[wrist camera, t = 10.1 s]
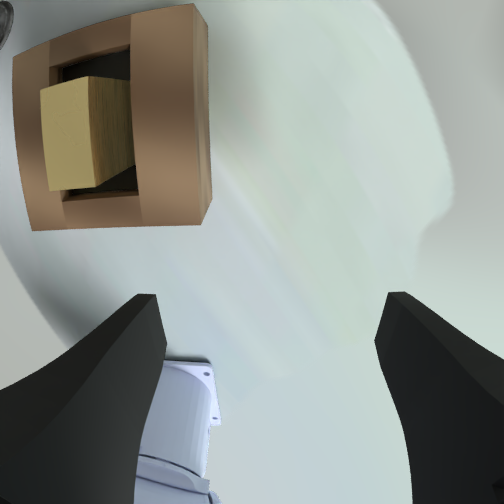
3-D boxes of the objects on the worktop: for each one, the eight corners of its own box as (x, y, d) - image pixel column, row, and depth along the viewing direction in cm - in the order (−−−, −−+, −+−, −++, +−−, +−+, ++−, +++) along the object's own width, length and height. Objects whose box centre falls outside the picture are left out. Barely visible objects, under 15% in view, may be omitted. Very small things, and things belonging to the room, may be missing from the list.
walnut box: (212, 198, 17) (200, 225, 14) (66, 207, 17) (32, 231, 14) (207, 25, 13) (193, 3, 9) (53, 60, 13) (13, 57, 9)
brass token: (144, 159, 16) (95, 187, 11) (107, 162, 16) (49, 191, 11) (141, 82, 14) (87, 76, 9) (102, 89, 14) (40, 89, 9)
